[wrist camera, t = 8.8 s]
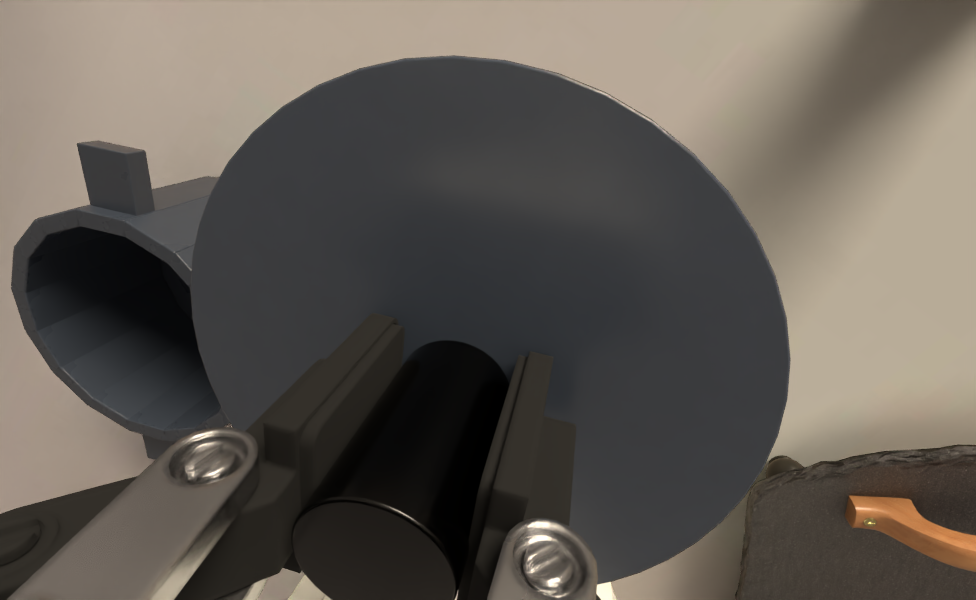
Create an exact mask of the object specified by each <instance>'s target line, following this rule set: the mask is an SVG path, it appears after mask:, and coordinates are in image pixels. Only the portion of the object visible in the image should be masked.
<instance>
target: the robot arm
mask: <svg viewBox="0 0 976 600" xmlns="http://www.w3.org/2000/svg"><path fill="white" fill-rule="evenodd" d="M404 336H405V329H404V327H403V326H399V325H398V320H397V318H393V317H389V316H385V315H381V314H377V313H372V314H370V315H369V316H368V317H367V318H366V319H365V320H364V321H363V322H362V323H361V324H360V325H359V326H358V327H357V328H356V329H355V330H354V331H353V332H352V333H351V334H350V336H349V337H348V338H347V339H346V340H345V341H344V342H343V343H342V344H341V345H340V346H339V347H338V348H337V349H336V350H335V351H334V352H333V353H332V354H331V355H330V356H329V357H328V358H327V359H324V358H323V359H319V360H318V361H316V362H315V363H314V364H313V365H312V366H311V367H310V368H309V369H308V370H307V371H306V372H305V373H304V374H303V375H302V376H301V377H300V378H299V379H298V380H297V381H296V382H295V383H294V384H293V385H292V386H291V387H290V388H289V389H288V390H287V391H286V392H284V393H283V394H282V395H281V396H280V397H279V398H278V399H277V400H276V401H275V402H274V403H273V404H272V405H271V406H270V407H269V408H268V409H267V410H266V411H265V412H264V413H263V414H262V415H261V416H260V417H259V418H258V419H257V420H256V421H255V422H254V423H253V424H252V425H251V426H250V427H249V428H248V429H247V430H246V431H243V430H240V429H238V428H230V427H217V428H208V429H205V430H201V431H197V432H194V433H192V434H190V435H188V436H186V437H184V438H181V439H180V440H178V441H177V442H176V443H174V444H173V445H172V446H170V447H169V448H168V449H167V450H166V451H165V452H164V453H163V454H162V455H160V456H159V457H158V458H157V459H156V460H155V461H154V462H153V463H152V464H151V465H150V466H149V467H148V468H147V469H145V470H144V471H143V472H142V473H141V474H140V475H139V476H136V477H132V478H128V479H125V480H121V481H117V482H113V483H110V484H106V485H102V486H98V487H95V488H91V489H87V490H83V491H80V492H76V493H72V494H68V495H65V496H61V497H57V498H53V499H50V500H46V501H42V502H38V503H35V504H31V505H27V506H23V507H20V508H16V509H13V510H10V511H7V512H5V513H2V514H0V600H257V599H258V597H259V596H260V594H261V592H262V590H263V588H264V586H265V584H266V581H267V579H268V577H270V576H273V575H275V574H278V573H279V572H280V571H281V569H282V568H285V569H288V570H291V571H295V572H298V573H300V572H301V571H302V569H301V568H300V566H299V564H298V562H297V560H296V558H295V556H294V552H293V549H292V543H291V533H292V528H293V524H294V521H295V519H296V517H297V516H298V514H299V513H300V511H301V510H302V508H303V507H304V506H305V504H306V503H307V501H308V500H309V498H310V497H311V496H312V494H313V493H314V491H315V490H316V488H317V487H318V486H319V484H320V483H321V481H322V480H323V478H324V477H325V476H326V474H327V473H328V471H329V470H330V468H331V467H332V466H333V464H334V463H335V461H336V460H337V458H338V457H339V456H340V454H341V453H342V451H343V450H344V448H345V447H346V446H347V444H348V443H349V441H350V440H351V438H352V437H353V436H354V434H355V433H356V431H357V430H358V428H359V427H360V426H361V424H362V423H363V421H364V420H365V418H366V417H367V416H368V414H369V413H370V411H371V410H372V408H373V407H374V406H375V404H376V403H377V401H378V400H379V398H380V397H381V396H382V394H383V393H384V391H385V390H386V388H387V387H388V386H389V384H390V383H391V381H392V380H393V378H394V377H395V375H396V374H397V373H398V371H399V370H400V368H401V367H402V359H403V348H404ZM553 358H554V357H552V356H548V355H544V354H540V353H536V352H532V351H530V352H529V355H528V357H525V356H521V355H519V356H518V359H517V362H516V365H515V369H514V372H513V375H512V379H511V382H510V385H509V389H508V392H507V395H506V398H505V402H504V405H503V408H502V412H501V415H500V418H499V421H498V425H497V428H496V431H495V435H494V438H493V441H492V444H491V448H490V451H489V454H488V458H487V461H486V464H485V467H484V471H483V474H482V478H481V482H480V486H479V490H478V494H477V499H476V504H475V509H474V514H473V519H472V524H471V529H470V534H469V539H468V540H469V553H468V558H467V561H466V565H465V568H464V572H463V575H462V579H461V583H460V586H459V590H458V595H457V600H601V599H600V598H599V596H598V595H597V594H596V592H597V579H598V574H597V563H596V560H595V558H594V555H593V553H592V550H591V548H590V547H589V546H588V544H587V543H586V542H585V540H584V539H583V538H582V536H580V535H579V534H578V533H577V532H576V531H574V530H573V529H572V528H571V527H569V522H570V508H571V494H572V481H573V467H574V453H575V440H576V424H573V423H569V422H565V421H561V420H558V419H554V418H550V417H546V416H544V410H545V404H546V398H547V393H548V387H549V381H550V375H551V370H552V364H553Z"/></svg>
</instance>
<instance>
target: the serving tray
mask: <svg viewBox="0 0 976 600" xmlns="http://www.w3.org/2000/svg"><path fill="white" fill-rule="evenodd" d="M735 599H736V600H976V445H953V446H947V447H941V448H932V449H918V450H900V451H883V452H877V453H871V454H865V455H859V456H853V457H849V458H846V459H842V460H839V461H821V462H819V463H816V464H814V465H811V466H809V467H806V468H804V467H803V466H802V465H801V464H799V463H798V462H797V461H794V460H792V459H791V458H789V457H787V456H777V457H774V458H772V459H771V460H770V461H769V463H768V466H767V469H766V479H764V480H761V481H759V482H757V483H756V484H755V485H754V486H753V487H752V489H751V492H750V495H749V498H748V502H747V510H746V519H745V534H744V545H743V553H742V561H741V574H740V579H739V585H738V590H737V592H736V594H735Z"/></svg>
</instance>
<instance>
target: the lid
mask: <svg viewBox="0 0 976 600" xmlns="http://www.w3.org/2000/svg"><path fill="white" fill-rule="evenodd" d="M190 291H191V304H192V318H193V324H194V329H195V334H196V339H197V344H198V348H199V352H200V355H201V358H202V361H203V364H204V367H205V370H206V373H207V376H208V379H209V382H210V384H211V386H212V388H213V391H214V393H215V395H216V397H217V399H218V401H219V404H220V406H221V408H222V410H223V411H224V413H225V415H226V416H227V418H228V420H229V422H230V423H231V425H232V427H233V428H238V429H240V430H243V431H246V430H247V429H248V428H249V427H250V426H251V425H252V424H253V423H254V422H255V421H256V420H257V419H258V418H259V417H260V416H261V415H262V414H263V413H264V412H265V411H266V410H267V409H268V408H269V407H270V406H271V405H272V404H273V403H274V402H275V401H276V400H277V399H278V398H279V397H280V396H281V395H282V394H283V393H284V392H286V391H287V390H288V389H289V388H290V387H291V386H292V385H293V384H294V383H295V382H296V381H297V380H298V379H299V378H300V377H301V376H302V375H303V374H304V373H305V372H306V371H307V370H308V369H309V368H310V367H311V366H312V365H313V364H314V363H315V362H316V361H318V360H319V359H323V358H324V359H327V358H328V357H329V356H330V355H331V354H332V353H333V352H334V351H335V350H336V349H337V348H338V347H339V346H340V345H341V344H342V343H343V342H344V341H345V340H346V339H347V338H348V337H349V336H350V334H351V333H352V332H353V331H354V330H355V329H356V328H357V327H358V326H359V325H360V324H361V323H362V322H363V321H364V320H365V319H366V318H367V317H368V316H369V315H370V314H372V313H377V314H381V315H385V316H389V317H393V318H397V320H398V325H399V326H403V327H404V329H405V336H404V348H403V359H402V367H401V368H400V370H399V371H398V373H397V374H396V375H395V377H394V378H393V380H392V381H391V383H390V384H389V386H388V387H387V388H386V390H385V391H384V393H383V394H382V396H381V397H380V398H379V400H378V401H377V403H376V404H375V406H374V407H373V408H372V410H371V411H370V413H369V414H368V416H367V417H366V418H365V420H364V421H363V423H362V424H361V426H360V427H359V428H358V430H357V431H356V433H355V434H354V436H353V437H352V438H351V440H350V441H349V443H348V444H347V446H346V447H345V448H344V450H343V451H342V453H341V454H340V456H339V457H338V458H337V460H336V461H335V463H334V464H333V466H332V467H331V468H330V470H329V471H328V473H327V474H326V476H325V477H324V478H323V480H322V481H321V483H320V484H319V486H318V487H317V488H316V490H315V491H314V493H313V494H312V496H311V497H310V498H309V500H308V501H307V503H306V504H305V506H304V507H303V508H302V510H301V511H300V513H299V514H298V516H297V517H296V519H295V521H294V524H293V528H292V533H291V543H292V549H293V552H294V556H295V558H296V560H297V562H298V564H299V566H300V568H301V569H302V571H303V572H304V574H305V575H306V576H307V578H308V579H309V580H310V581H311V582H312V583H313V584H314V585H315V586H316V587H317V588H318V589H319V590H320V591H321V592H322V593H324V594H325V595H326V596H327V597H329V598H330V599H332V600H455V598H456V596H457V593H458V590H459V586H460V583H461V579H462V575H463V572H464V568H465V565H466V561H467V558H468V553H469V540H468V539H469V534H470V529H471V524H472V519H473V514H474V509H475V504H476V499H477V494H478V490H479V486H480V482H481V478H482V474H483V471H484V467H485V464H486V461H487V458H488V454H489V451H490V448H491V444H492V441H493V438H494V435H495V431H496V428H497V425H498V421H499V418H500V415H501V412H502V408H503V405H504V402H505V398H506V395H507V392H508V389H509V385H510V382H511V379H512V375H513V372H514V369H515V365H516V362H517V359H518V356H519V355H521V356H525V357H528V355H529V352H530V351H532V352H536V353H540V354H544V355H548V356H552V357H554V358H553V364H552V370H551V375H550V381H549V387H548V393H547V398H546V404H545V410H544V416H546V417H550V418H554V419H558V420H561V421H565V422H569V423H573V424H576V440H575V453H574V467H573V481H572V494H571V508H570V522H569V527H571V528H572V529H573V530H574V531H576V532H577V533H578V534H579V535H580V536H582V538H583V539H584V540H585V542H586V543H587V544H588V546H589V547H590V548H591V550H592V553H593V555H594V558H595V560H596V563H597V574H598V579H597V585H598V584H603V583H608V582H612V581H615V580H618V579H621V578H624V577H628V576H631V575H634V574H637V573H640V572H642V571H644V570H647V569H649V568H651V567H653V566H656V565H658V564H660V563H662V562H664V561H667V560H669V559H670V558H672V557H674V556H675V555H677V554H679V553H680V552H682V551H683V550H685V549H687V548H688V547H690V546H692V545H693V544H695V543H696V542H698V541H699V540H700V539H701V538H703V537H704V536H705V535H706V534H707V533H709V532H710V531H711V530H712V529H714V528H715V527H716V526H717V525H718V524H720V523H721V522H722V521H723V520H724V519H725V518H726V516H727V515H728V514H729V513H730V512H731V511H732V510H733V509H734V508H735V507H736V506H737V504H738V503H739V502H740V501H741V500H742V499H743V498H744V497H745V495H746V494H747V492H748V491H749V489H750V488H751V486H752V485H753V483H754V482H755V480H756V479H757V477H758V475H759V474H760V472H761V471H762V469H763V468H764V465H765V463H766V461H767V459H768V456H769V454H770V452H771V450H772V448H773V445H774V443H775V441H776V439H777V436H778V433H779V429H780V425H781V421H782V417H783V414H784V410H785V406H786V402H787V396H788V384H789V371H790V349H789V338H788V327H787V317H786V314H785V310H784V306H783V302H782V299H781V295H780V291H779V287H778V284H777V280H776V276H775V274H774V271H773V269H772V267H771V265H770V263H769V260H768V258H767V256H766V254H765V252H764V249H763V247H762V245H761V243H760V241H759V238H758V236H757V234H756V232H755V231H754V229H753V228H752V226H751V225H750V223H749V222H748V220H747V219H746V217H745V216H744V214H743V212H742V211H741V209H740V208H739V206H738V205H737V203H736V202H735V200H734V199H733V197H732V196H731V194H730V193H729V192H728V190H727V189H726V188H725V187H724V186H723V185H722V184H721V183H720V182H719V181H718V179H717V178H716V177H715V176H714V175H713V174H712V173H711V172H710V171H709V170H708V168H707V167H706V166H705V165H704V164H703V163H702V162H701V161H700V160H699V159H698V158H697V156H696V155H695V154H694V153H692V152H691V151H690V150H689V149H687V148H686V147H685V146H684V145H683V144H681V143H680V142H679V141H678V140H676V139H675V138H674V137H673V136H671V135H670V134H669V133H668V132H667V131H665V130H664V129H663V128H662V127H660V126H659V125H658V124H657V123H655V122H654V121H653V120H652V119H650V118H648V117H647V116H645V115H643V114H642V113H640V112H638V111H636V110H635V109H633V108H631V107H630V106H628V105H626V104H625V103H623V102H621V101H620V100H618V99H616V98H614V97H613V96H611V95H609V94H608V93H606V92H603V91H601V90H598V89H596V88H594V87H591V86H589V85H586V84H584V83H581V82H579V81H576V80H574V79H571V78H569V77H567V76H564V75H562V74H559V73H556V72H551V71H547V70H543V69H539V68H535V67H531V66H527V65H523V64H519V63H515V62H511V61H506V60H497V59H486V58H476V57H465V56H438V57H421V58H405V59H400V60H396V61H391V62H387V63H382V64H378V65H373V66H369V67H364V68H359V69H357V70H354V71H352V72H349V73H347V74H344V75H342V76H339V77H337V78H334V79H332V80H329V81H327V82H324V83H322V84H319V85H317V86H315V87H314V88H312V89H311V90H309V91H307V92H306V93H304V94H302V95H301V96H299V97H297V98H296V99H294V100H292V101H291V102H289V103H287V104H286V105H284V106H283V107H281V108H280V109H279V110H278V111H277V112H276V113H274V114H273V115H272V116H271V117H270V118H269V119H267V120H266V121H265V122H264V123H263V124H262V125H261V126H259V127H258V128H257V129H256V130H255V131H254V132H253V133H252V134H251V135H250V136H249V138H248V139H247V140H246V141H245V142H244V144H243V145H242V146H241V147H240V148H239V150H238V151H237V152H236V153H235V154H234V156H233V157H232V158H231V159H230V161H229V162H228V164H227V165H226V167H225V169H224V171H223V172H222V174H221V176H220V178H219V179H218V181H217V183H216V184H215V186H214V188H213V190H212V191H211V194H210V196H209V199H208V202H207V204H206V207H205V210H204V212H203V215H202V218H201V220H200V223H199V227H198V231H197V236H196V241H195V246H194V250H193V255H192V269H191V285H190Z"/></svg>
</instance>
